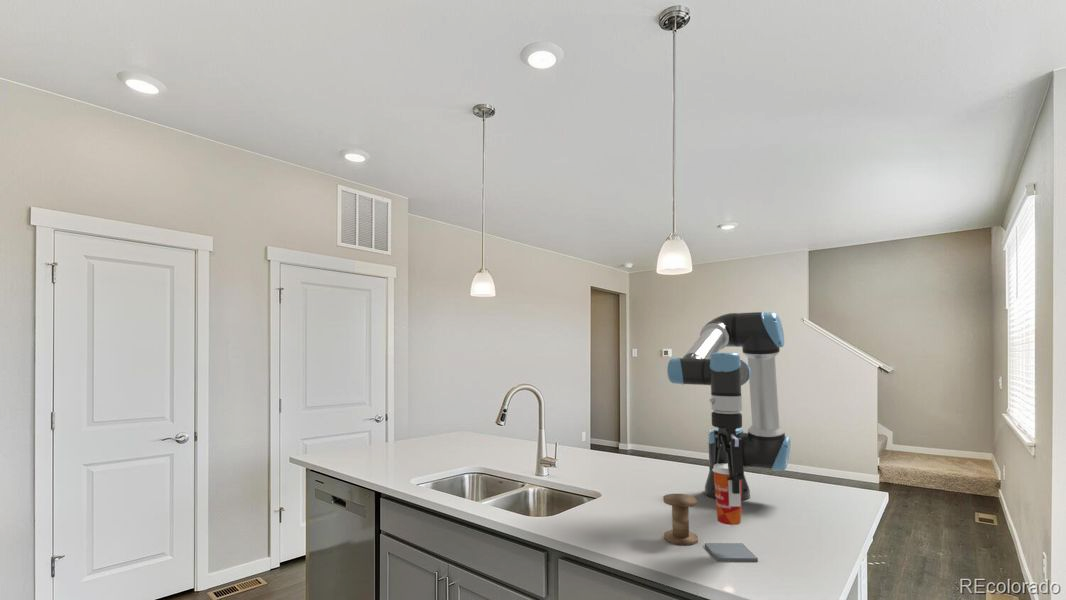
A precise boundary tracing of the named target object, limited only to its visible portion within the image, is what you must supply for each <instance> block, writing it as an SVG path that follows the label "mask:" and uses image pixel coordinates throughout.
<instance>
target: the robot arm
mask: <svg viewBox="0 0 1066 600" xmlns="http://www.w3.org/2000/svg"><path fill="white" fill-rule="evenodd" d="M784 346H785V334H784V329H783V324H782V321H781V318H780V316H779V315H778V314H777V313H775V312H767V311H757V312H756V311H754V312H731V313H730V312H729V313H725V314H722V315H720V316H717V317H714V318H713V319H712V320H710V321H709V322H707V323H706V324H705V325H704V326H703V327H702V329H701V330H700V333H699V337H698V338H697V339H696V341H694V343H693V345H692V346H691V347H690V348H689V349H688V351H687V352H686V353H685V355H683V357H682V358H681V357H676V358H675V357H673V358H671V359H669V361H668V362H667V363H668V364H667V370H666V371H667V372H666V373H667V377H668V380H669V382H670V383H672V384H678V385H679V384H680V385H691V386H693V385H698V386H699V385H700V386H710V390H711V391H710V395H711V398H710V399H709V402H710V405H711V410H712V412H711V426H712V427H714V428H715V429H712V430H710V431H709V432H708V442H707V444H708V462H709V463H708V464H709V467H708V469H709V471H708V475H707V479H706V482H705V484H704V494H705V495H706V496H708V497H710V498H714V499H716V497H715V484H714V472H713V471H712V469H713V468H714V464H718V463H719V464H720V463H725V464H726V463H728V469H729V475H730V477H728V478H727V480H728V487H729V506H741V507H742V501H746V500H748V499H749V498H750V497H751V490H750V489H751V488H750V486H749V484H748V481H747V478H746V476H745V468H750V469H759V470H767V471H772V472H773V471H779V472H783V471H785V470H786V469H787V468H788V464H789V460H790V453H791V437H790V436H788V435H786V433H785V429H784V428H782V426H780V416H779V400H778V398H779V397H778V386H777V385H778V383H777V369H776V366H777V365H776V356H777V355H778V354H780V348H783V347H784ZM727 347H735V348H737V347H738V348H741V347H742V354H743V355H744V356H745V357H747V362H746V361H745V360H743V359H741V356H740V354H739V353H737V352H719V351H721V350H723V349H724V348H727ZM747 382H748V383H749V394H750V395H749V396H750V397H749V399H750V408H751V409H750V412H751V425H750V426H749V428H748V429H747V432H744V430H743V428H742V427H743V414H742V413H741V412H742V411H743V397H742V386H743V385H745V384H746V383H747ZM741 479H742V499H741V493H740V480H741Z"/></svg>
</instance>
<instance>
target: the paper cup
mask: <svg viewBox="0 0 1066 600" xmlns="http://www.w3.org/2000/svg"><path fill="white" fill-rule="evenodd" d="M712 471H713V472H714V484H715V497H716V498H715V506H716V507H715V509H716V518H717V522H718V523H720V524H724V525H731V526H737V525H740V524H741V521H742V520H741V518H742V505H741V506H729V487H728V480H727V478H728V477H730V475H729V469H728V463H726V464H725V463H720V464H719V463H718V464H714V468H713V469H712ZM740 493H741V499H742V479H741V480H740Z"/></svg>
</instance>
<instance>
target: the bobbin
mask: <svg viewBox="0 0 1066 600" xmlns="http://www.w3.org/2000/svg"><path fill="white" fill-rule="evenodd" d="M662 498H663V499H662V500H663V503H664V504H666V505H669V506H671V525H672V527H671V528H672V529H670V530H666V531H664V533H663V539H664V540H665V541H666V542H667V543H670V544H673V545H676V546H693V545H696V544H698V542H699V537H698V535H697V534H696V533H695V532H692V531H690V516H689V515H690V509H689V508H691V507H695V506H696V505H698V499H697V497H695V496H693V495H691V494H686V493H669V494H665V495H664V496H663V497H662Z"/></svg>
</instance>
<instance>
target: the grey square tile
mask: <svg viewBox="0 0 1066 600" xmlns="http://www.w3.org/2000/svg"><path fill="white" fill-rule="evenodd" d="M704 547H705V548H706V549H707V551H708V552H709V553H710V554H711V556H712V557H713V558H714V559H715V560H716V561H717V563H718V562H721V563H723V562H724V563H725V562H737V563H738V562H748V563H749V562H750V563H751V562H754V563H755V562H759V558H758V557H757V555H755V554H754V553H753V552H752V551H751V550H750V549H749V548H748V547H747V546H746V545H745V544H744V543H743V542H705V543H704Z"/></svg>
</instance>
